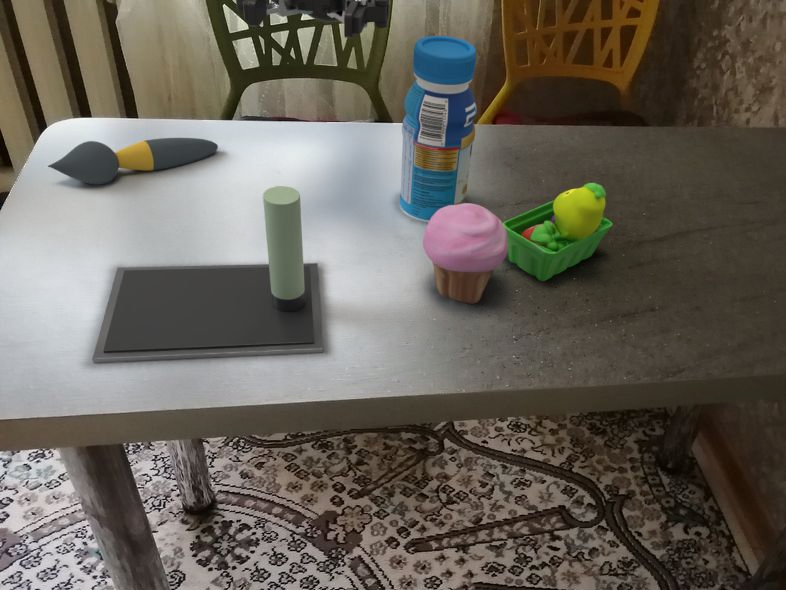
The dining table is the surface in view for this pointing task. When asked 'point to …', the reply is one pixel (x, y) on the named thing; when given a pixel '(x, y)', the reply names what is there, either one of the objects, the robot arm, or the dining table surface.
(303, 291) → the mint green cylinder
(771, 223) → the dining table surface
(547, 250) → the fruit basket
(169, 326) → the tablet
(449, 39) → the beverage bottle
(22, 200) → the dining table surface
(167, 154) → the paintbrush
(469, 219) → the cupcake
